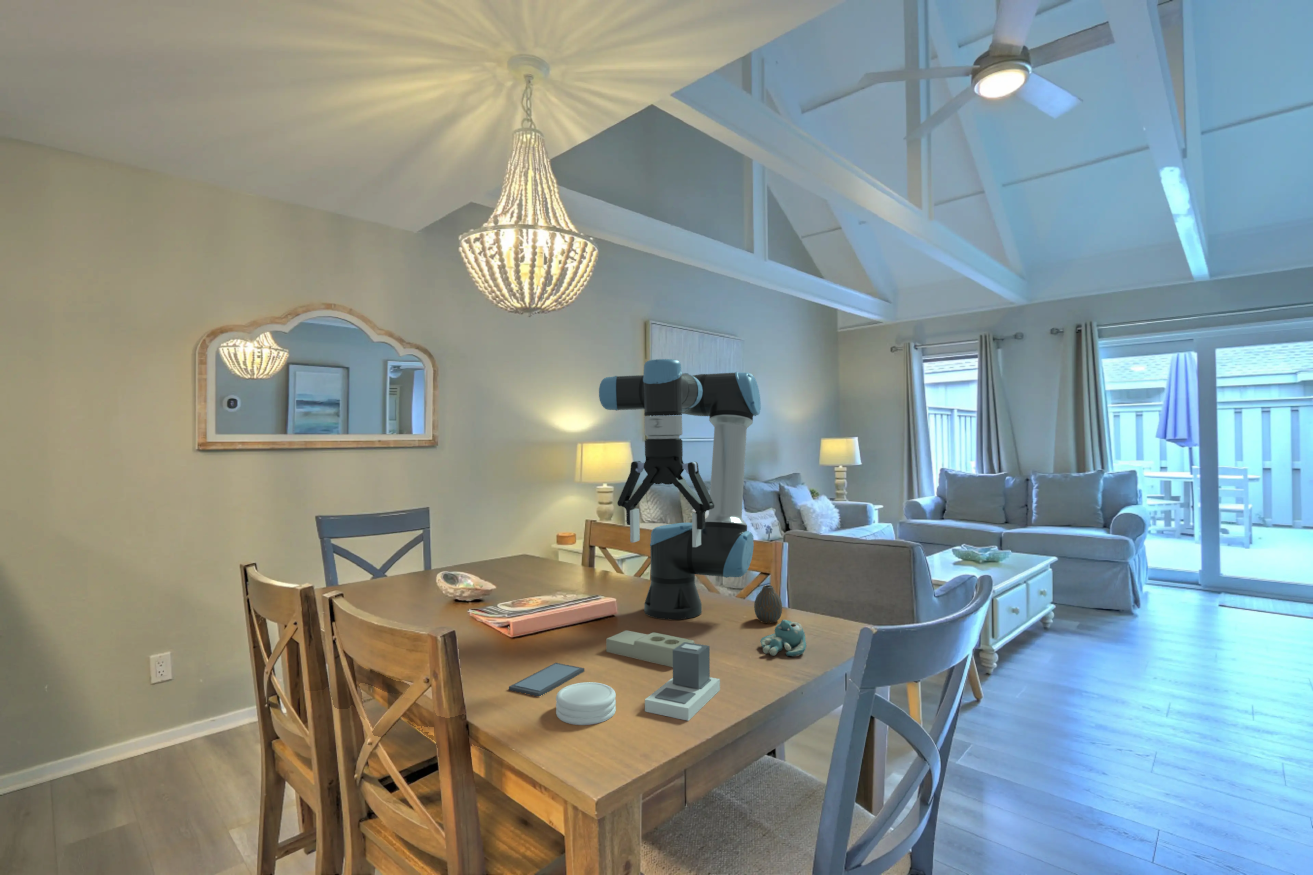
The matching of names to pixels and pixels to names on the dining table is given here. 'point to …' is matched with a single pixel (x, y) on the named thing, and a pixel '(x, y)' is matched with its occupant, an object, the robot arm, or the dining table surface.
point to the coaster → (585, 703)
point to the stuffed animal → (785, 639)
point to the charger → (691, 665)
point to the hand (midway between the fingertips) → (665, 543)
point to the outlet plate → (681, 699)
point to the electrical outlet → (645, 646)
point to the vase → (768, 605)
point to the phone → (546, 679)
